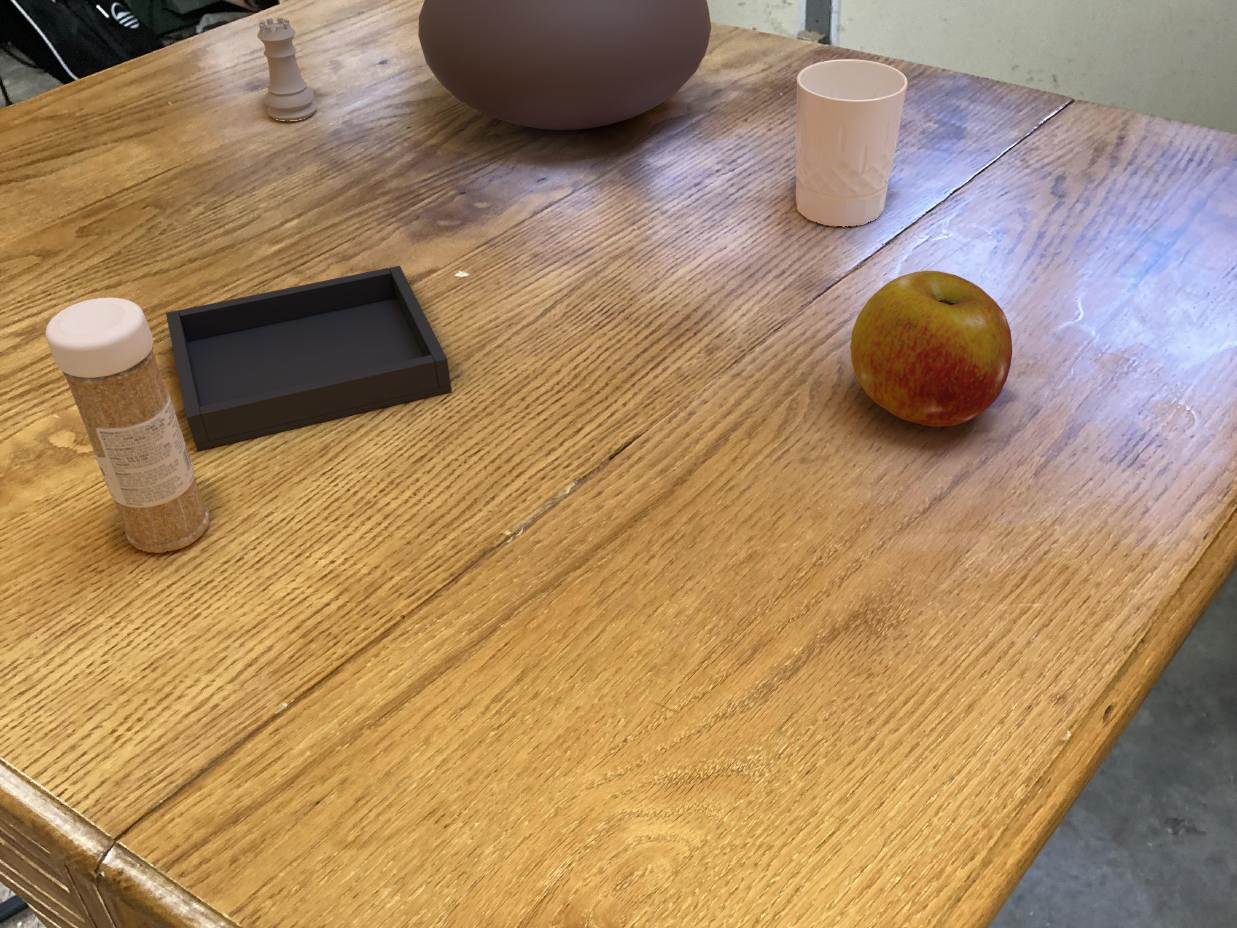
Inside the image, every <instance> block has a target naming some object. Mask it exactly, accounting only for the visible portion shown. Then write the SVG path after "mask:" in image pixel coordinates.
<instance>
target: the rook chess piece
mask: <svg viewBox="0 0 1237 928" xmlns="http://www.w3.org/2000/svg"><path fill="white" fill-rule="evenodd" d="M276 21H277V22H274V20H273V18H272V17H270V18H266V21H265V20H261V21H260V22H259V24H258V26H259V31H258V33H257V35H256V36H257V39H258V40H260V41H261V42H262V44H263V46H264V51H263V55H264V56H265V57H266V60H267V63H268V64H267V65H268V73H269V85H268V86H267V93H266V95H265V104H267V105H268V107H267V108H266V109H267V110H266V113H267V114H268V115H269V116H270V117H271V118H272V119H273V118H274V119H278V120H285V121H290V120H299V119H304V118H307V117H309V116H311V115H312V114H313V113H314V114H315V112H316V110H317V108H318V104H317V103H316V102H315V101H314V99H315V94H314V91H313V90H312V89H311V88H310V87H308V86H307V85H308V82H307V81H305V80H304V77H303V76H302V74H301V70H300V68H299V64H298V62H297V57H296V53H297V48H296V47H294V44H293V40H294V38H295V35H296V30H295V29H294V28H293V27H292V26H291V25H290V21H289V19H288V18H285V19H284V18H283V17H277V18H276ZM314 114H313V115H314ZM313 115H312V116H313ZM312 116H311V117H312ZM309 118H310V117H309ZM274 119H273V120H274ZM307 119H308V118H307ZM304 120H305V119H304Z"/></svg>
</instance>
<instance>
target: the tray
mask: <svg viewBox="0 0 1237 928" xmlns="http://www.w3.org/2000/svg"><path fill="white" fill-rule="evenodd" d="M419 302H420V301H418V298H417V297H416V295H415V292H414V290H413V288H412V286H411V284H410V282H409V280H408V278H407V277H406V275H405V273H404V271H403V269H402V266H401V265H396V266H391V267H390V266H389V267H385V268H380V269H375V270H370V271H365V272H361V273H355V274H350V275H346V276H340V277H336V278H335V277H334V278H331V279H326V280H321V281H315V282H311V283H310V282H309V283H306V284H300V285H296V286H291V287H287V288H281V289H276V290H271V291H266V292H261V293H257V294H252V295H251V294H250V295H247V296H241V297H237V298H233V299H232V298H231V299H226V300H222V301H217V302H212V303H208V304H203V305H198V306H193V307H187V308H182V309H178V310H173V311H167V312H165V316H166V321H167V326H168V331H169V336H170V342H171V346H172V352H173V357H174V362H175V367H176V371H177V376H178V382H179V388H180V392H181V397H182V401H183V407H184V412H185V417H186V420H187V424H188V426H189V430H190V433H191V436H192V440H193V442H194V444H195V448H196V451H197V452H199V451H205V450H207V449H212V448H216V447H221V446H225V445H229V444H230V445H231V444H234V443H237V442H242V441H247V440H250V439H256V438H259V437H264V436H269V435H273V434H276V433H281V432H285V431H290V430H293V429H294V430H295V429H298V428H303V427H306V426H311V425H315V424H319V423H324V422H327V421H332V420H336V419H340V418H345V417H349V416H353V415H358V414H362V413H366V412H367V413H368V412H371V411H376V410H380V409H384V408H388V407H392V406H393V407H394V406H397V405H401V404H405V403H409V402H413V401H418V400H422V399H427V398H430V397H431V398H432V397H435V396H440V395H443V394H449V393H452V391H453V389H452V384H451V383H452V382H451V375H450V370H449V362H448V361H449V360H448V358H447V356H446V353H445V352H444V349H443V347H442V346H441V344H440V342H439V340H438V338H437V336H436V334H435V332H434V330H433V328H432V326H431V324H430V322H429V320H428V318H427V316H426V314H425V312H424V310H423V308H422V306H421V304H420V303H419Z"/></svg>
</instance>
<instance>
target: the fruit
mask: <svg viewBox="0 0 1237 928" xmlns="http://www.w3.org/2000/svg"><path fill="white" fill-rule="evenodd" d="M849 347H850V359H851V360H850V361H851V365H852V369H853V372H854V374H855V376H856V379H857V381H858V384H860V386H861V388H862V389H863V391H864V393H865V394H866V395H867V396H868V397H869V398H870V399H871V400H872V401H873V402H874V403H875V404H877V405H878V406H880V408H883V409H884V410H885V411H887V412H889V413H890V414H892V415H893V416H894V417H897V418H899V419H901V420H903V421H908V422H911V423H915V424H918V425H922V426H927V427H937V428H939V427H940V428H943V427H944V428H945V427H950V426H952V427H953V426H957V425H960V424H964V423H967V422H968V421H971V420H972V419H975V418H976V417H977V416H980V415H981V414H982V413H984V412H985V411H987V409H988V408H989V407H990V406H991V405H992V404H994V402H995V401H996V400H997V398H998V397H999V396H1000V394H1001V392H1002V391H1003V388H1004V386H1005V384H1006V382H1007V381H1008V377H1009V373H1010V369H1011V366H1012V358H1013V339H1012V331H1011V327H1010V324H1009V322H1008V319H1007V316H1006V315H1005V312H1004V310H1003V309H1002V308H1001V307H1000V305H999V304H998V303H997V301H996V300H994V298H993V297H991V296H990V295H989V294H988V293H987V292H986V291H985V290H983V288H981V287H980V286H978V285H977V284H975V283H974V282H972V281H969V280H967V279H965V278H964V277H962V276H959V275H956V274H954V273H949V272H945V271H940V270H920V271H913V272H910V273H907V274H904V275H900V276H898V277H896V278H894V279H892V280H890V281H889V282H887V283H886V284H884V285H883V286H882V287H881V288H879V289H878V290H877V291H876V292H875V293H874V294H872V296H870V298H869V299H868V300H867V302H866V303H865V304H864V306H863V307H862V309H861V310H860V311H859V313H858V315H857V317H856V320H855V323H854V325H853V328H852V331H851V338H850V346H849Z"/></svg>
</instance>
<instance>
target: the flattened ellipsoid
mask: <svg viewBox="0 0 1237 928" xmlns="http://www.w3.org/2000/svg"><path fill="white" fill-rule="evenodd" d="M711 32H712V23H711V15H710V9H709V5H708V0H423V3H422V6H421V9H420V12H419V16H418V31H417V33H418V41H419V44H420V47H421V50H422V54H423V57H424V60H425V64H426V65H427V66H428V68H429V69H430V71H431V72H432V73H433V75H434V76H435V78H436V79H437V80H438V82H439V83H440V84H441V85H442V86H443V88H445V89H446V90H447V91H448V92H449V93H451V94H452V95H453V96H454V97H456V98H457V100H460V102H462V103H464V104H465V105H467V106H468V107H470V108H472V109H474V110H476V111H478V112H480V113H482V114H484V115H486V116H488V117H491V118H494V119H496V120H499V121H501V122H505V123H509V124H512V125H518V126H521V127H527V128H533V129H539V130H540V129H541V130H552V131H576V130H587V129H594V128H599V127H605V126H609V125H612V124H615V123H616V124H617V123H619V122H623V121H625V120H629V119H632V118H635V117H637V116H641V115H642V114H645V113H647V112H649V111H650V110H652V109H654V108H655V107H657V106H658V105H660V104H662V103H664V102H665V101H667V100H668V99H670V98H671V97H673V96H674V95H675V94H677V93H678V91H679V90H681V89H682V87H683V86H684V85H685V84H686V83H687V82H688V81H689V80H690V79H691V78H692V77H693V75H695V73H696V72H697V70H698V69H699V67H700V65H701V63H702V61H703V59H704V58H705V56H706V53H707V50H708V47H709V43H710V39H711Z"/></svg>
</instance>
